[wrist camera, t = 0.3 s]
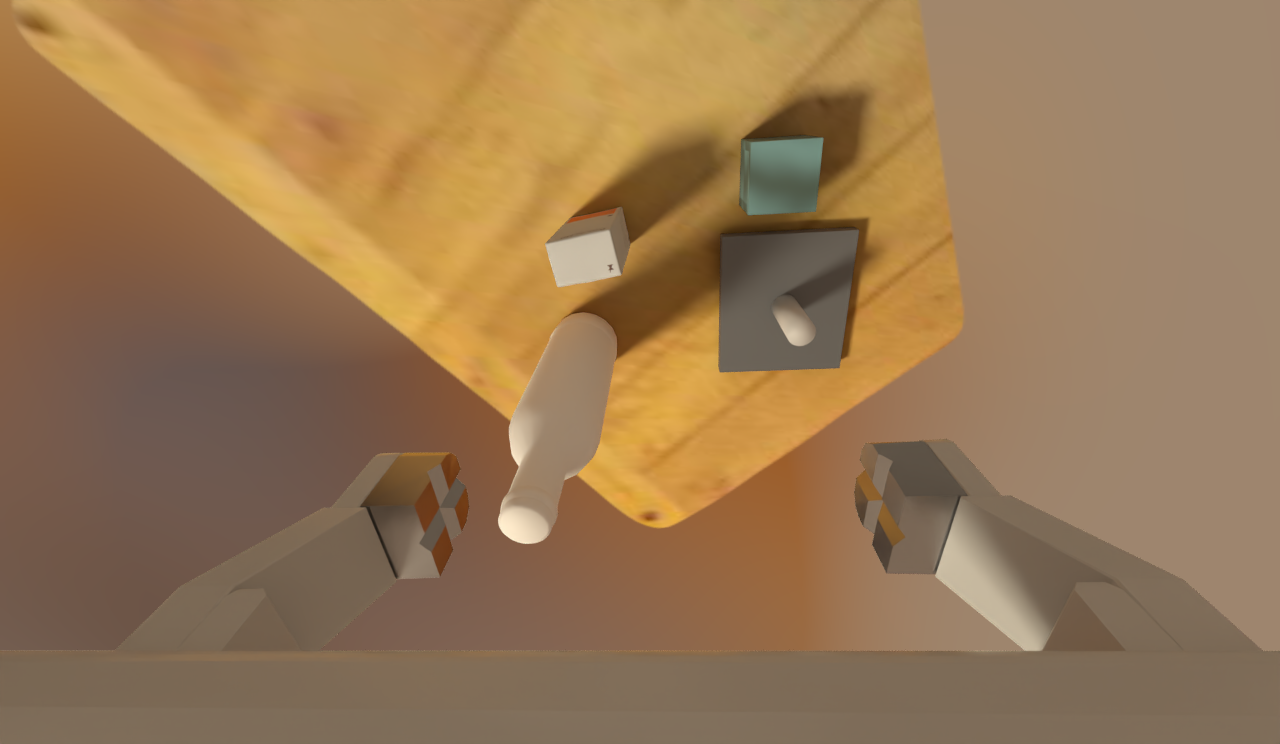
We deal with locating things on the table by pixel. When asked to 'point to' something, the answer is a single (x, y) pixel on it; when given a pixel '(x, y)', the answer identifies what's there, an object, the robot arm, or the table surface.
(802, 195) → the sage green cube
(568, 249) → the skincare box
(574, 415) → the bottle
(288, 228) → the table surface
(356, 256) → the table surface
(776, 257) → the post block
